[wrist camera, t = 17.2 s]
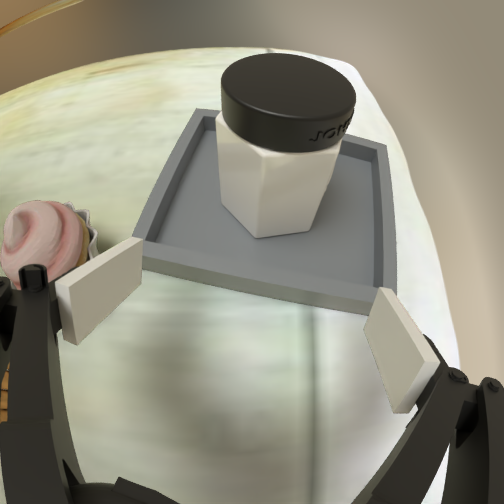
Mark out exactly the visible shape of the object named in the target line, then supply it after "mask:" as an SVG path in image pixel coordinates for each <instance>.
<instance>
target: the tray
mask: <svg viewBox="0 0 504 504" xmlns="http://www.w3.org/2000/svg"><path fill="white" fill-rule="evenodd" d="M219 113H220V111H218V110H208V109H197V108H196V110H195V112H194V113H193V115H192V117H191V118H190V120H189V122H188V124H187V125H186V127H185V129H184V131H183V132H182V134H181V136H180V138H179V139H178V141H177V143H176V145H175V147H174V149H173V151H172V152H171V154H170V156H169V158H168V160H167V162H166V164H165V166H164V168H163V170H162V172H161V174H160V176H159V178H158V180H157V182H156V184H155V186H154V188H153V190H152V192H151V194H150V196H149V198H148V200H147V203H146V205H145V207H144V209H143V211H142V213H141V216H140V218H139V220H138V222H137V225H136V227H135V229H134V232H133V234H132V236H131V237H136V238H141V239H143V249H142V269H145V270H149V271H153V272H157V273H161V274H165V275H169V276H174V277H178V278H182V279H186V280H191V281H195V282H199V283H204V284H208V285H213V286H217V287H222V288H226V289H231V290H236V291H240V292H245V293H250V294H255V295H260V296H265V297H269V298H274V299H279V300H285V301H290V302H295V303H300V304H305V305H311V306H316V307H322V308H327V309H333V310H338V311H344V312H350V313H356V314H362V315H368V316H369V314H370V311H371V309H372V306H373V303H374V300H375V298H376V295H377V292H378V289H379V287H384V288H389V289H392V291H393V292H394V293H395V295H396V296H397V252H396V230H395V215H394V203H393V192H392V183H391V174H390V167H389V159H388V153H387V146H386V145H384V144H381V143H377V142H374V141H371V140H367V139H364V138H360V137H356V136H353V135H349V134H344V136H343V137H342V142H341V146H340V151H339V154H338V157H337V159H336V163H335V166H334V170H333V173H332V176H331V179H330V182H329V184H328V185H327V190H326V191H325V192H324V196H323V197H322V200H321V202H320V205H319V208H318V210H317V213H316V215H315V218H314V220H313V223H312V226H311V228H310V230H309V231H306V232H299V233H291V234H284V235H277V236H270V237H263V238H255V237H254V236H253V235H252V234H251V233H250V232H249V231H248V230H247V229H246V228H245V227H244V226H243V225H242V224H241V223H240V222H239V221H238V220H237V219H236V218H235V217H234V216H233V215H232V214H231V213H230V212H229V211H228V210H227V209H226V208H225V206H224V205H223V204H222V203H221V194H220V180H219V167H218V153H217V137H216V121H215V119H216V117H217V115H218V114H219Z"/></svg>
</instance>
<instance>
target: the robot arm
mask: <svg viewBox="0 0 504 504" xmlns="http://www.w3.org/2000/svg"><path fill="white" fill-rule="evenodd" d="M142 249H143V239H141V238H136V237H130V238H128V239H126V240H124V241H122V242H121V243H119V244H117V245H115V246H114V247H112V248H110V249H108V250H107V251H105V252H103V253H101V254H100V255H98V256H96V257H95V258H93V259H91V260H90V261H88V262H86V263H85V264H83V265H80V266H77V267H73V268H72V269H70V270H68V271H67V273H66V272H65V273H64V274H62V275H61V276H59V277H57V278H55V279H54V280H52V281H51V282H49V283H48V275H47V268H46V266H44V265H42V264H28V265H25V266H23V267H21V268H20V269H19V271H18V273H19V280H20V286H21V290H16V289H12V287H11V282H10V279H9V278H7V277H0V386H1V383H2V381H3V378H4V375H5V372H6V370H7V367H8V364H9V376H8V400H7V421H2V422H1V423H0V456H1V467H2V476H3V483H4V490H5V496H6V501H7V504H179V503H177V502H176V501H174V500H172V499H170V498H168V497H166V496H164V495H163V494H161V493H159V492H157V491H156V490H153V489H150V488H147V487H144V486H141V485H139V484H136V483H133V482H131V481H128V480H126V479H123V478H121V477H118V479H117V481H116V483H115V484H110V483H86V482H85V480H84V478H83V475H82V473H81V470H80V467H79V464H78V461H77V457H76V453H75V449H74V445H73V441H72V437H71V432H70V427H69V422H68V417H67V412H66V406H65V400H64V394H63V387H62V379H61V371H60V361H59V349H58V338H57V332H58V331H59V330H60V329H61V328H62V333H63V338H64V340H66V341H68V342H70V343H72V344H75V345H78V344H79V343H80V342H81V341H82V340H83V339H84V338H85V337H86V336H87V335H88V334H89V333H90V332H91V331H92V330H93V329H94V328H95V327H96V326H98V325H99V324H100V323H101V322H102V321H103V320H104V319H105V318H106V317H107V316H108V315H109V314H110V313H111V312H112V311H113V310H114V309H115V308H116V307H117V306H118V305H119V304H120V303H121V302H122V301H124V300H125V299H126V298H127V297H128V296H129V295H130V294H131V293H132V292H133V291H134V290H135V289H136V288H137V287H138V286H140V285H141V277H142ZM364 332H365V335H366V337H367V340H368V342H369V345H370V348H371V350H372V353H373V356H374V358H375V361H376V364H377V367H378V369H379V372H380V375H381V378H382V381H383V384H384V387H385V389H386V392H387V395H388V398H389V401H390V404H391V407H392V411H393V413H409V412H410V411H411V409H412V408H413V406H414V405H415V403H416V405H417V407H418V411H417V412H416V414H415V415H414V416H413V418H412V419H411V421H410V422H409V423H408V425H407V426H406V430H405V432H404V433H403V435H402V436H401V438H400V439H399V441H398V442H397V444H396V445H395V447H394V448H393V450H392V451H391V453H390V454H389V456H388V457H387V459H386V460H385V461H384V463H383V464H382V465H381V467H380V468H379V470H378V471H377V472H376V474H375V475H374V476H373V477H372V479H371V480H370V481H369V483H368V484H367V485H366V486H365V488H364V489H363V490H362V491H361V492H360V494H359V495H358V496H357V497H356V498H355V499H354V501H353V502H352V503H351V504H421V502H422V501H423V499H424V497H425V495H426V493H427V491H428V489H429V487H430V485H431V483H432V481H433V479H434V477H435V475H436V473H437V471H438V469H439V467H440V464H441V462H442V460H443V457H444V455H445V453H446V450H447V448H448V445H449V443H450V446H449V456H448V465H447V472H446V479H445V485H444V491H443V497H442V502H441V504H504V388H503V386H502V385H501V383H500V382H499V381H498V380H496V379H493V378H490V377H485V378H484V379H483V380H482V382H481V383H480V385H479V386H477V385H473V384H470V383H469V380H468V378H467V376H466V375H465V374H464V373H463V372H462V371H460V370H459V369H456V368H452V367H448V365H447V363H446V362H445V360H444V359H443V357H442V356H441V354H440V353H439V351H438V349H437V348H436V346H435V345H434V343H433V342H432V340H431V339H429V338H428V337H427V336H426V335H425V334H422V333H421V331H420V330H419V328H418V327H417V325H416V324H415V322H414V321H413V319H412V318H411V316H410V315H409V313H408V312H407V310H406V309H405V307H404V306H403V305H402V303H401V302H400V300H399V299H398V298H397V296H396V295H395V293H394V292H393V291H392V289H389V288H384V287H379V289H378V292H377V295H376V298H375V300H374V303H373V306H372V309H371V311H370V314H369V317H368V319H367V322H366V325H365V327H364ZM9 362H10V363H9Z"/></svg>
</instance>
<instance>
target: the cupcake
mask: <svg viewBox="0 0 504 504" xmlns="http://www.w3.org/2000/svg"><path fill="white" fill-rule="evenodd" d="M97 236H98V232H97V231H96V229H94V228H93V227H91V226H90V217H89V210H86V209H84V210H75V208H74V206H73V204H72V203H71V202H67V203H64V204H62V203H59V202H54V201H41V200H35V201H29V202H26V203H23V204H20V205H18V206H17V207H15V208H14V209H13V210H12V211H11V212H10V213H9V215H8V217H7V219H6V222H5V225H4V240H3V244H2V248H1V254H0V261H1V266H2V269H3V271H4V272H5V274H6V276H7V277H8V278H9V279H10V280H11V287H12V289H16V290H21V286H20V280H19V273H18V271H19V269H20V268H21V267H23V266H25V265H28V264H42V265H44V266H46V268H47V275H48V283H49V282H51V281H52V280H54V279H55V278H57V277H59V276H61V275H62V274H64V273H65V272H66V273H67V271H68V270H70V269H72V268H73V267H77V266H80V265H83V264H85V263H86V262H88V261H90V260H91V259H93V258H95V257H96V256H98V255H99V252H98V249H97V247H96V245H97Z"/></svg>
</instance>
